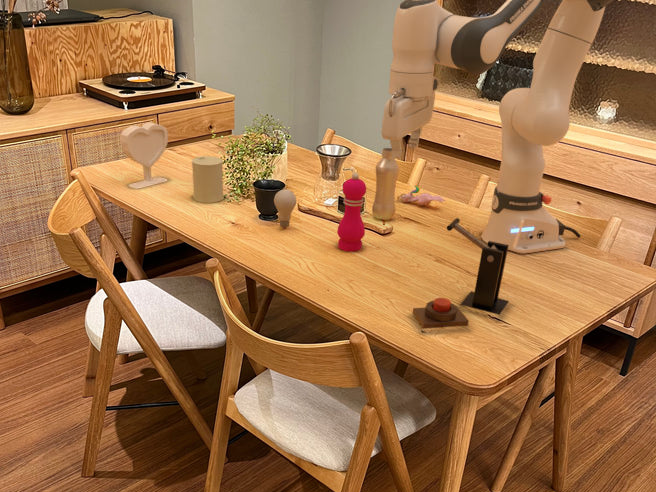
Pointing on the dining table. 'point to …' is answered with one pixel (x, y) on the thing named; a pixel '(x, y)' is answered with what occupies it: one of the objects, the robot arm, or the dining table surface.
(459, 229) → the switch lever
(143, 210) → the dining table surface
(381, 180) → the plastic bottle
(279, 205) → the lightbulb
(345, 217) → the pepper mill
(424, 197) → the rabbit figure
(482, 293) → the switch bracket
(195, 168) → the can
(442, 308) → the button
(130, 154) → the heart sculpture
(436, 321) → the button box
